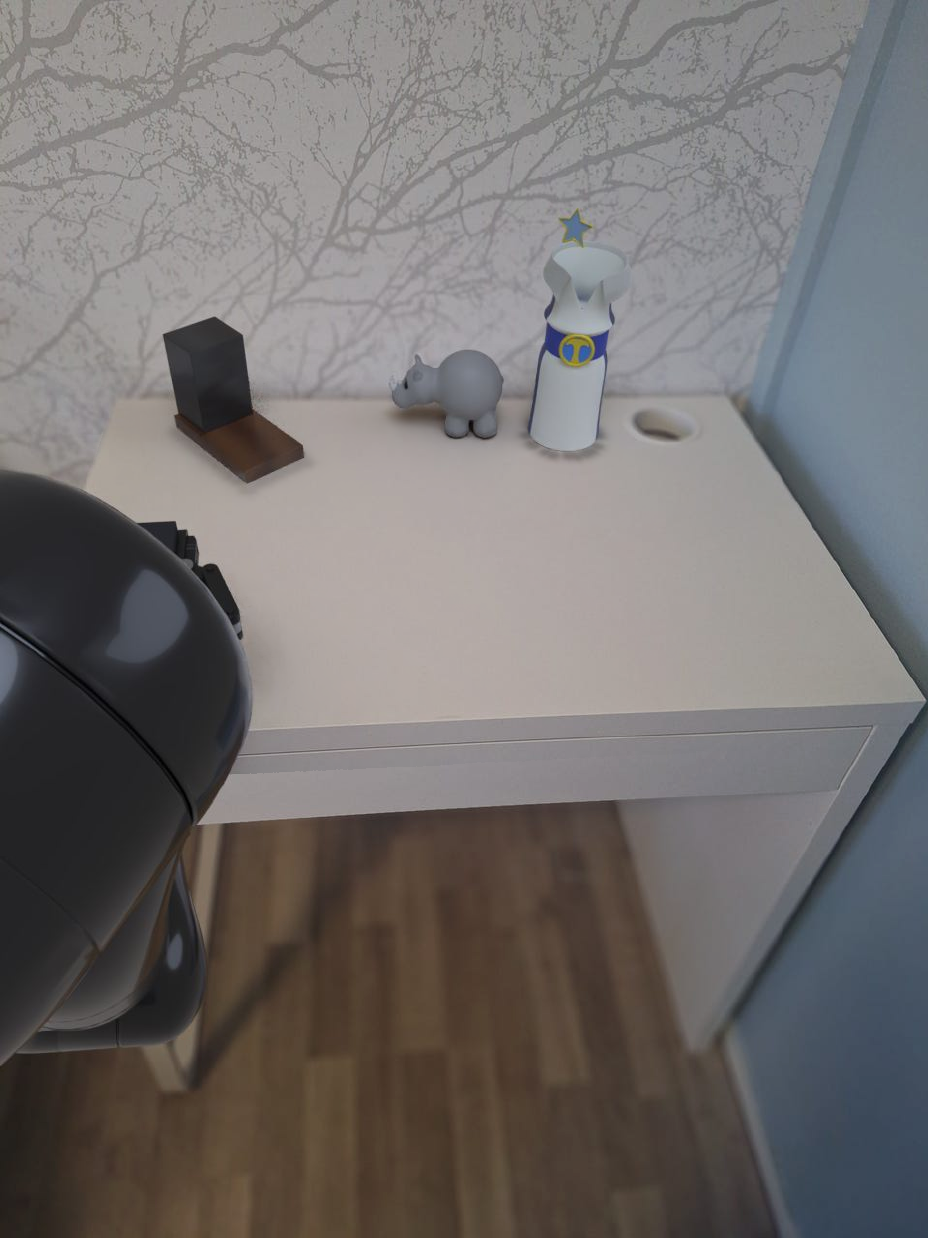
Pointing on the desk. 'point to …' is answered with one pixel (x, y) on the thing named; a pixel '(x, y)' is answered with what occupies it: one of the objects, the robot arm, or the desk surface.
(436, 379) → the round bodied animal figurine
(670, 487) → the desk surface
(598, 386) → the white piece
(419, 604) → the desk surface
